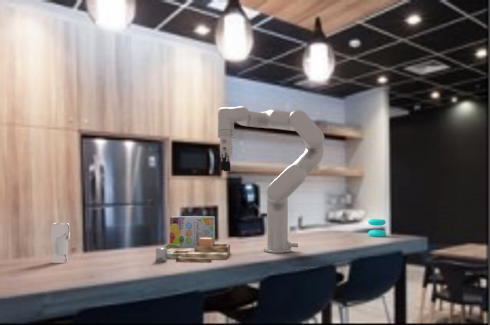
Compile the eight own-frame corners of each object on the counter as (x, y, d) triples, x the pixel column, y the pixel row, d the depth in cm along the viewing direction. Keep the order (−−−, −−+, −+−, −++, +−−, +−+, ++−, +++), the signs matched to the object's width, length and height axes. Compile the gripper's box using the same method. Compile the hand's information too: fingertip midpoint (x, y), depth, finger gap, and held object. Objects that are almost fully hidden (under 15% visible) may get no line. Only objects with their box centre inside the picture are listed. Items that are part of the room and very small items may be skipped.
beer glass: (50, 264, 159) (51, 224, 160) (49, 261, 165) (50, 223, 166) (70, 262, 162) (71, 223, 163) (68, 260, 168) (69, 222, 169)
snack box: (215, 247, 204) (215, 216, 205) (213, 248, 198) (213, 217, 199) (172, 246, 206) (172, 215, 207) (169, 248, 200) (169, 216, 201)
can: (168, 260, 168) (168, 247, 168) (165, 262, 163) (165, 249, 164) (157, 260, 168) (157, 247, 168) (154, 262, 164) (154, 249, 164)
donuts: (364, 218, 251) (379, 218, 254) (365, 235, 251) (379, 235, 254) (374, 220, 242) (389, 219, 245) (374, 237, 241) (389, 236, 244)
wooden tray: (230, 253, 186) (230, 243, 186) (225, 259, 170) (225, 249, 170) (168, 252, 188) (168, 243, 188) (158, 258, 172) (158, 248, 172)
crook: (213, 260, 169) (213, 256, 169) (211, 262, 164) (211, 258, 164) (179, 259, 170) (179, 255, 170) (176, 261, 165) (176, 258, 165)
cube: (212, 249, 184) (212, 237, 184) (210, 250, 179) (210, 239, 179) (201, 248, 184) (201, 237, 184) (199, 250, 179) (199, 238, 179)
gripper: (231, 131, 187) (231, 170, 186) (235, 136, 204) (235, 171, 203) (215, 132, 187) (215, 170, 186) (220, 136, 205) (220, 171, 204)
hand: (225, 170), depth 195 cm, fingers open, 9 cm apart
